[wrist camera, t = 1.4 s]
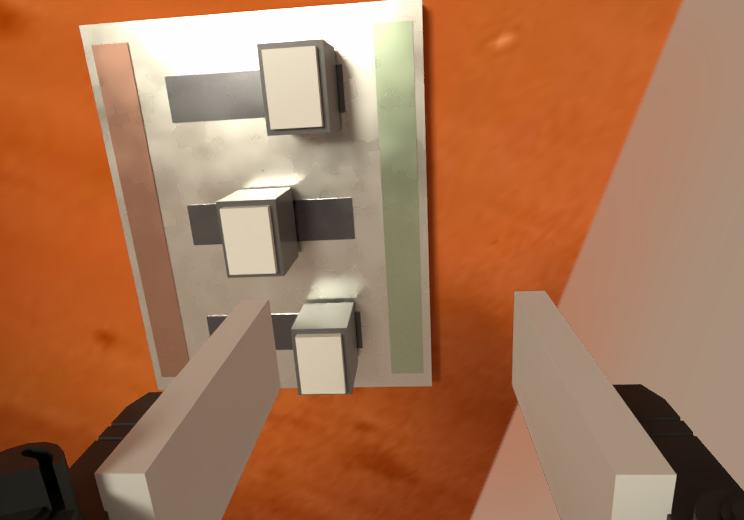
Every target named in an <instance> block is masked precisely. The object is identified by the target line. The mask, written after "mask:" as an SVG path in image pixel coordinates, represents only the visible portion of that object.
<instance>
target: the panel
mask: <svg viewBox="0 0 744 520" xmlns="http://www.w3.org/2000/svg"><path fill="white" fill-rule="evenodd" d="M79 28H80V32H81V37H82V41H83V46H84V51H85V55H86V60H87V64H88V69H89V74H90V78H91V83H92V87H93V92H94V97H95V101H96V106H97V110H98V115H99V120H100V124H101V129H102V134H103V138H104V143H105V147H106V152H107V157H108V161H109V166H110V170H111V175H112V180H113V184H114V189H115V193H116V198H117V203H118V207H119V212H120V216H121V221H122V226H123V230H124V235H125V239H126V244H127V249H128V253H129V258H130V262H131V267H132V272H133V276H134V281H135V285H136V290H137V295H138V299H139V304H140V308H141V313H142V318H143V322H144V327H145V331H146V336H147V341H148V345H149V350H150V354H151V359H152V364H153V368H154V373H155V377H156V382H157V387H158V390H165V389H166V388H167V387H168V386H169V385H170V383H171V382H172V381H173V380H174V379H175V378H176V376H177V375H178V374H179V373H180V372H181V370H182V369H183V368H184V367H185V366H186V365H187V363H188V362H189V361H190V360H191V359H192V358H193V356H194V355H195V354H196V353H197V352H198V350H199V349H200V348H201V347H202V346H203V345H204V343H205V342H206V341H207V340H208V339H209V337H210V336H211V335H212V334H213V333H214V332H215V330H216V329H217V328H218V327H219V326H220V325H221V323H222V322H223V321H224V320H225V319H226V317H227V316H228V315H229V314H230V313H231V312H232V310H233V309H234V308H235V307H236V306H237V304H238V303H239V302H240V301H241V300H246V299H269V302H270V310H271V317H272V325H273V333H274V340H275V348H276V355H277V363H278V370H279V378H280V386H281V388H298V387H297V378H296V370H295V362H294V353H293V345H292V337H291V328H292V326H293V324H294V322H295V320H296V318H297V316H298V314H299V312H300V310H301V309H302V307H303V305H304V304H314V303H350V302H354V313H355V326H356V339H357V352H358V366H357V372H356V377H355V382H354V387H409V386H432V365H431V327H430V290H429V252H428V214H427V176H426V138H425V100H424V62H423V24H422V0H390V1H378V2H365V3H353V4H340V5H328V6H316V7H303V8H291V9H278V10H266V11H254V12H241V13H229V14H216V15H204V16H191V17H179V18H167V19H154V20H142V21H129V22H117V23H105V24H92V25H80V26H79ZM315 39H324V40H325V41H326V42H328V43H329V44H330V45H332V46H333V47H334V51H335V64H336V77H337V90H338V103H339V116H340V129H338V130H335V131H333V132H327V133H310V134H293V135H276V136H267V128H266V120H265V111H264V103H263V95H262V86H261V78H260V70H259V61H258V53H257V45H256V44H261V43H275V42H288V41H301V40H315ZM287 187H291V189H292V199H293V208H294V217H295V226H296V235H297V244H298V254H299V256H298V258H297V259H296V260H295V262H294V263H293V265H292V266H291V267H290V269H289V270H288V272H287V273H286V274H285V276H274V277H243V278H227V272H226V265H225V259H224V252H223V246H222V240H221V233H220V227H219V220H218V214H217V208H216V201H218V200H220V199H222V198H224V197H226V196H228V195H230V194H232V193H234V192H236V191H238V190H246V189H266V188H287Z"/></svg>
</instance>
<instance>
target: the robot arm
mask: <svg viewBox="0 0 744 520" xmlns="http://www.w3.org/2000/svg"><path fill="white" fill-rule="evenodd" d="M512 386H513V389H514V392H515V395H516V397H517V400H518V403H519V406H520V408H521V411H522V414H523V417H524V419H525V422H526V425H527V428H528V430H529V433H530V436H531V439H532V441H533V444H534V447H535V450H536V453H537V455H538V458H539V461H540V463H541V466H542V469H543V472H544V475H545V477H546V480H547V483H548V485H549V488H550V491H551V494H552V496H553V499H554V502H555V505H556V507H557V510H558V513H559V516H560V519H561V520H744V491H743V490H742V489H741V488H740V486H739V485H738V484H737V483H736V482H735V481H734V479H733V478H732V477H731V476H730V475H729V474H728V472H727V471H726V470H725V469H724V468H723V467H722V465H721V464H720V463H719V462H718V461H717V460H716V458H715V457H714V456H713V455H712V454H711V453H710V451H709V450H708V449H707V448H706V447H705V446H704V444H702V442H701V441H700V440H699V439H698V438H697V437H696V436H694V435H693V432H692V430H691V429H690V428H689V427H688V426H687V425H686V424H685V422H684V421H680V417H679V415H678V414H677V413H676V412H675V411H674V410H673V408H672V407H671V406H670V405H669V404H668V403H667V401H666V400H665V399H663V398H662V397H660V396H659V395H657V394H655V393H654V392H652V391H650V390H648V389H647V388H646V387H644V386H643V385H641V384H638V385H612V384H611V383H610V381H609V380H608V378H607V377H606V376H605V374H604V373H603V371H602V370H601V369H600V367H599V366H598V364H597V363H596V362H595V360H594V359H593V357H592V356H591V355H590V353H589V352H588V350H587V349H586V348H585V346H584V345H583V343H582V342H581V341H580V339H579V338H578V337H577V335H576V334H575V332H574V331H573V330H572V328H571V327H570V325H569V324H568V323H567V321H566V320H565V318H564V317H563V316H562V314H561V313H560V311H559V310H558V309H557V307H556V306H555V304H554V303H553V302H552V300H551V299H550V297H549V296H548V295H547V293H546V292H545V291H520V292H514V326H513V361H512ZM280 388H281V386H280V378H279V370H278V363H277V355H276V348H275V340H274V333H273V325H272V317H271V310H270V302H269V299H246V300H241V301H240V302H239V303H238V304H237V306H236V307H235V308H234V309H233V310H232V312H231V313H230V314H229V315H228V316H227V317H226V319H225V320H224V321H223V322H222V323H221V325H220V326H219V327H218V328H217V329H216V330H215V332H214V333H213V334H212V335H211V336H210V337H209V339H208V340H207V341H206V342H205V343H204V345H203V346H202V347H201V348H200V349H199V350H198V352H197V353H196V354H195V355H194V356H193V358H192V359H191V360H190V361H189V362H188V363H187V365H186V366H185V367H184V368H183V369H182V370H181V372H180V373H179V374H178V375H177V376H176V378H175V379H174V380H173V381H172V382H171V383H170V385H169V386H168V387H167V388H166V389H165V391H164V392H149V393H147V394H146V395H144V396H143V397H141V398H140V399H138V400H136V401H135V402H133V403H132V404H130V405H129V406H127V407H126V408H125V409H124V410H123V411H122V412H121V413H120V415H119V416H118V417H117V418H116V419H115V420H114V421H113V422H112V423H111V424H112V425H111V427H108V428H107V429H106V430H105V431H104V432H103V433H102V434H101V435H100V436H99V439H98V441H95V442H94V443H93V444H92V445H91V446H90V447H89V448H88V449H87V450H86V451H85V452H84V453H83V454H82V456H81V457H80V458H79V459H78V460H77V461H76V462H75V463H74V464H73V465H72V466H71V467H70V468H68V465H67V461H66V458H65V455H64V452H63V450H62V449H61V448H60V447H59V446H58V445H57V444H52V443H48V442H39V443H28V444H24V445H21V446H17V447H14V448H10V449H7V450H5V451H2V452H0V520H221V519H222V517H223V515H224V513H225V510H226V508H227V506H228V504H229V502H230V499H231V497H232V495H233V493H234V490H235V488H236V486H237V484H238V482H239V479H240V477H241V475H242V473H243V470H244V468H245V466H246V464H247V462H248V459H249V457H250V455H251V453H252V450H253V448H254V446H255V444H256V442H257V439H258V437H259V435H260V433H261V430H262V428H263V426H264V424H265V422H266V419H267V417H268V415H269V413H270V410H271V408H272V406H273V404H274V402H275V399H276V397H277V395H278V393H279V390H280Z"/></svg>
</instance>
